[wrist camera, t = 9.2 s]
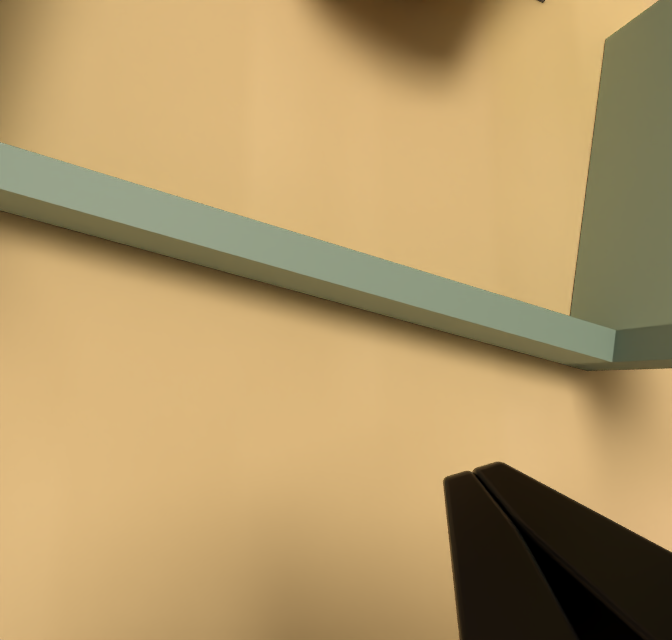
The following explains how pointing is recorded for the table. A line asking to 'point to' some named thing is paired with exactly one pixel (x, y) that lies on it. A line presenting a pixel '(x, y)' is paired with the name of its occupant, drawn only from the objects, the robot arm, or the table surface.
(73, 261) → the table surface
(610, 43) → the grey-green open frame
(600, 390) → the table surface
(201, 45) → the table surface
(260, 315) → the table surface
